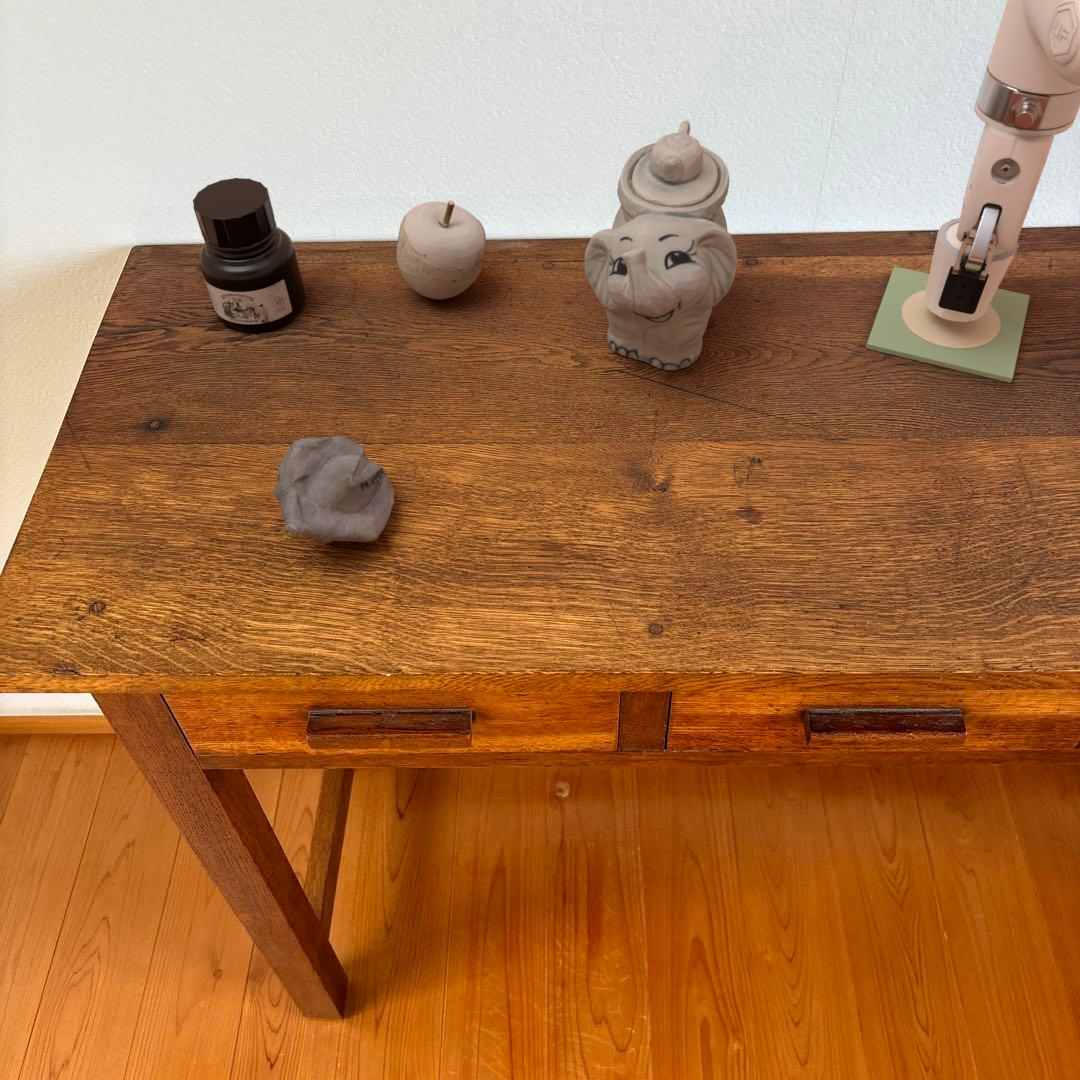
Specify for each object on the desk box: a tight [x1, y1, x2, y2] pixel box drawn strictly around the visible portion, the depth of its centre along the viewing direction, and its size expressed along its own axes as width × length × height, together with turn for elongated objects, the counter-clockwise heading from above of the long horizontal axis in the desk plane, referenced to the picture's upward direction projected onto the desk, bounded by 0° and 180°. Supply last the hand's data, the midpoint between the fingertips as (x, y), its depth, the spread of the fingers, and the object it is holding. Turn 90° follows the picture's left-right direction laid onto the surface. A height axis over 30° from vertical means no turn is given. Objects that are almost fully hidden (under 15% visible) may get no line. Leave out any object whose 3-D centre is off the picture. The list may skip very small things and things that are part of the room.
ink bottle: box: [192, 177, 306, 332], centre depth 96 cm, size 10×9×12 cm
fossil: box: [273, 435, 395, 545], centre depth 79 cm, size 11×9×8 cm
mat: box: [865, 265, 1031, 384], centre depth 96 cm, size 13×13×1 cm
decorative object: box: [395, 200, 487, 300], centre depth 98 cm, size 9×9×10 cm
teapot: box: [584, 120, 738, 371], centre depth 89 cm, size 16×15×19 cm
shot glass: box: [924, 217, 1020, 322], centre depth 92 cm, size 7×7×7 cm
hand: (963, 283), depth 93 cm, fingers closed on shot glass, 6 cm apart
